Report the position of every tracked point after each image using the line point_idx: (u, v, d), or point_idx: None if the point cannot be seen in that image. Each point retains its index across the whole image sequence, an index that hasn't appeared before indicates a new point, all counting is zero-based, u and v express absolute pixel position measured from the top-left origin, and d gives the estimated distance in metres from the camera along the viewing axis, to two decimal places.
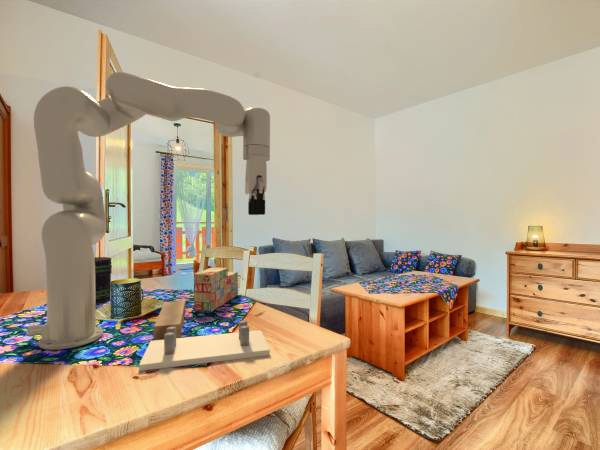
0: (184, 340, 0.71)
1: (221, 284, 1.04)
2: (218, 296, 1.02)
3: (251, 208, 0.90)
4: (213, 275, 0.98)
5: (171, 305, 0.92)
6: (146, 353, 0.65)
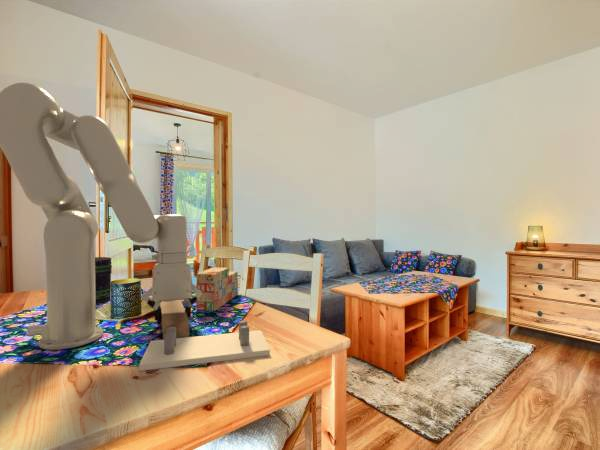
0: (184, 340, 0.71)
1: (223, 284, 1.05)
2: (221, 296, 1.03)
3: (160, 316, 0.84)
4: (216, 275, 0.99)
5: (168, 304, 0.91)
6: (146, 353, 0.65)
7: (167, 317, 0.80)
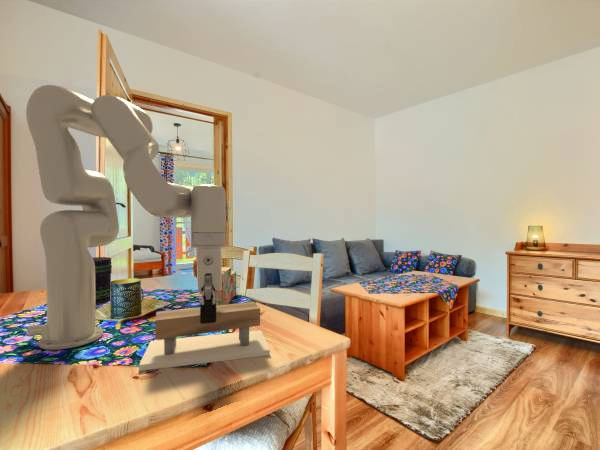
0: (184, 340, 0.71)
1: (228, 283, 1.06)
2: (227, 295, 1.04)
3: None
4: (224, 274, 1.00)
5: (176, 314, 0.65)
6: (146, 353, 0.65)
7: (235, 309, 0.69)
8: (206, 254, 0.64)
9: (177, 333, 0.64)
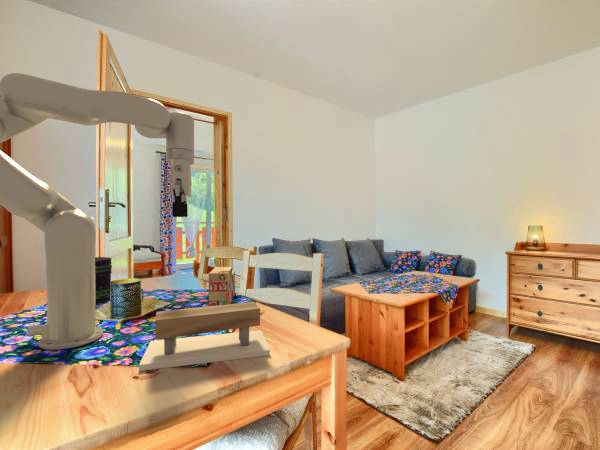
0: (184, 340, 0.71)
1: (230, 283, 1.07)
2: (229, 294, 1.05)
3: None
4: (228, 274, 1.01)
5: (176, 314, 0.65)
6: (146, 353, 0.65)
7: (235, 309, 0.69)
8: (177, 164, 0.83)
9: (177, 333, 0.64)
